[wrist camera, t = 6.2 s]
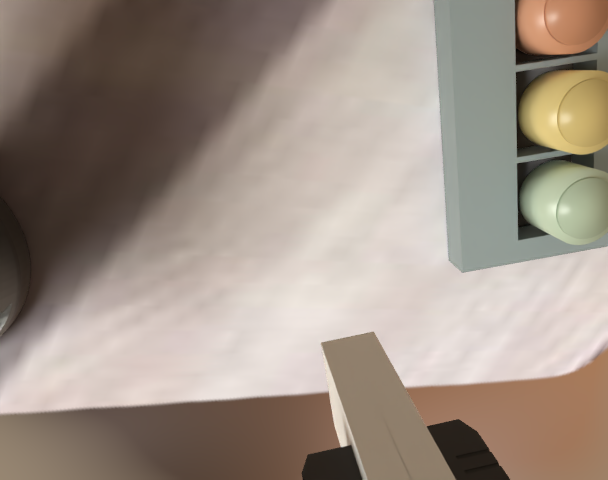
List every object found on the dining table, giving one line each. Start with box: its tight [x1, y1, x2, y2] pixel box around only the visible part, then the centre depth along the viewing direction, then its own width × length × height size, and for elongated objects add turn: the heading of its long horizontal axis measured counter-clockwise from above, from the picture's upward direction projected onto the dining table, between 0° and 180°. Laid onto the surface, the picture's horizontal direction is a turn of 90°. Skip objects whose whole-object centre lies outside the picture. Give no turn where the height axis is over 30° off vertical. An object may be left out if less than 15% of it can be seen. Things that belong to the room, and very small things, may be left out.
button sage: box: [519, 160, 608, 245], centre depth 36 cm, size 5×5×4 cm
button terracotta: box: [515, 0, 608, 55], centre depth 34 cm, size 5×5×4 cm
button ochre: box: [518, 70, 608, 155], centre depth 34 cm, size 5×5×4 cm
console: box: [434, 0, 608, 273], centre depth 37 cm, size 14×21×3 cm, turn 8°
